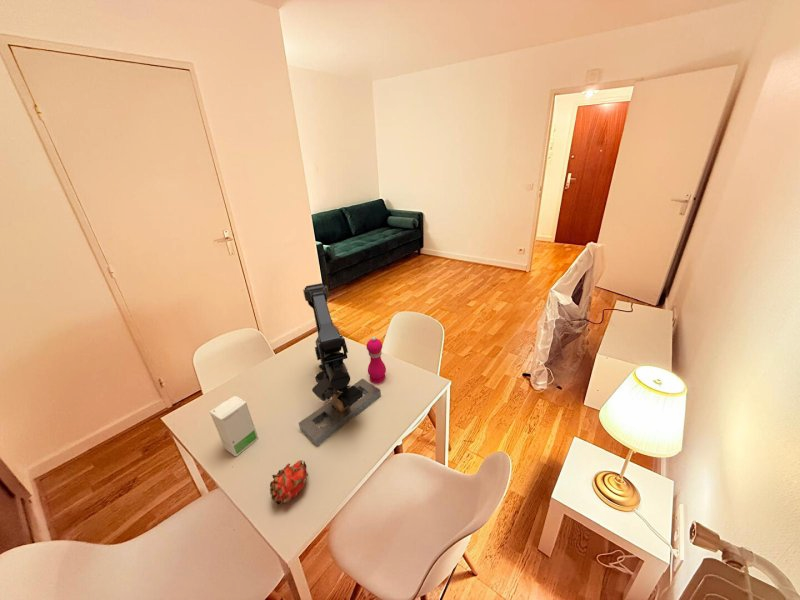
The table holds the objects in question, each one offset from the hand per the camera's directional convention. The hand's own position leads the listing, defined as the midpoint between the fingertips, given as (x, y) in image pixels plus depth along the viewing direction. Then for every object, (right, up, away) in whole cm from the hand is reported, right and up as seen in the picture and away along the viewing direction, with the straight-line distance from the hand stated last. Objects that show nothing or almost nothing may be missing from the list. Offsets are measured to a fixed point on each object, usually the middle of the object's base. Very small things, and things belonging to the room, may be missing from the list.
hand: (341, 404), depth 104 cm
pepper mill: (+11, +4, +17) cm, 21 cm away
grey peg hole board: (0, -3, +2) cm, 4 cm away
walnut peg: (0, -2, +1) cm, 2 cm away
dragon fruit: (-9, -16, -22) cm, 28 cm away
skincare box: (-30, -10, -8) cm, 33 cm away
